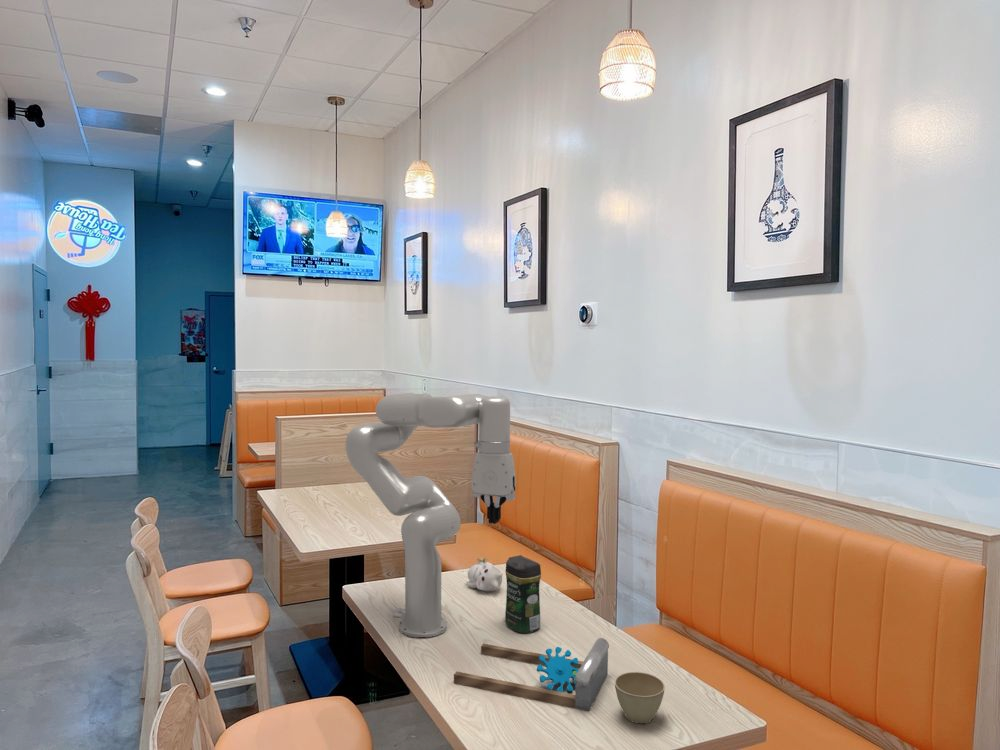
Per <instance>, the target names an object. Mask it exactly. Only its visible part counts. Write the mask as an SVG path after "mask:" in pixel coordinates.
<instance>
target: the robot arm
mask: <svg viewBox="0 0 1000 750" xmlns="http://www.w3.org/2000/svg"><path fill="white" fill-rule="evenodd" d="M375 414H376V417H377V419H378V420H379V421H378V422H377V421H376V422H369V423H363V424H359V425H357V426H355V427H353V428H352V429H351V430H350V431H349V432H348V433H347V435H346V438H345V452H346V456H347V459H348V462H349V464H350V465H351V466H352V468H353V470H354V471H356V473H358V475H359V476H361V478H362V479H363V480H364V481H365V482H366V483H367V484H368V486H369V487H370V489H371V490H372V491H373V493H374V494H375V495H376V496H377V497H378V499H379V500H380V502H381V503H382V504H383V505H384V507H385V508H386V509H387V510H388V512H390V513H391V514H392V515H393V516H397V517H399V516H401V517H402V516H405V515H408V516H406V517H405V518H404V520H403V522H402V524H401V526H400V527H401V528H400V531H401V539H402V545H403V551H404V571H405V572H404V573H405V574H404V575H405V576H404V578H405V579H404V581H405V583H404V592H405V593H404V594H405V595H404V596H405V598H404V599H405V600H404V602H405V603H404V604H405V605H404V608H402V607H397V606H395V607H394V608H393V614H392V618H393V619H394V618H395V619H400V620H401V622H399V625H398V626H399V632H400V633H401V632H402V633H401V634H403V633H404V634H405V636H407V635H408V636H407V637H410V636H411V637H410V638H416V637H426V638H431V637H432V636H433V637H436V636H439V635H442V634H443V633H444V632H445V631H446V630H447V629H448V622H447V620H446V619H445V618H443V617H442V559H441V556H440V552H439V550H438V549H437V544H438V543H440V542H443V541H446V540H449V539H450V538H452V537H454V536H455V535H457V533H458V532H459V531H460V528H461V517H460V515H459V512H458V510H457V508H456V507H455V506H454V505H453V504H452V502H451V501H450V500H449V498H448V497H447V496H446V494H445V493H444V492H443V491H442V490H441V489H440V487H439V486H438V485H437V484H436V483H435V482H434V481H433V480H432V479H431V478H429V477H427V476H424V475H414V476H409V477H406V476H404V475H402V474H401V473H400V471H399V470H398V468H397V467H396V466H395V465H394V464H393V463H392V462H391V461H389V460H388V459H387V458H385V457H383V456H381V455H380V454H379V453H384V452H389V451H395V450H397V449H399V448H401V447H402V446H403V445H404V444H405V443H406V442H407V440H408V439H409V438H410V437H411V435H412V434H413V432H415V430H416V428H418V427H423V428H424V427H425V428H447V429H448V428H459V427H466V426H471V425H477V424H478V429H479V430H478V432H479V433H478V441H474V442H473V447H474V448H477V449H478V452H475V455H474V459H473V466H472V473H471V474H472V475H471V491H472V495H473V497H474V498H478V499H481V500H482V502H483V503H484V505H485V507H486V518H487V519H488V524H494V525H495V524H497V523H499V522H500V520H501V519H502V506H503V505H504V503H506V502H509V501H513V500H515V499H516V493H515V491H516V487H517V485H516V481H517V479H516V470H515V469H516V468H515V461H514V456H513V453H511V402H510V399H509V398H507V397H503V396H489V395H488V396H487V395H484V394H479V393H477V394H476V393H471V394H460V395H452V396H434V397H433V396H432V395H430V393H414V392H407V393H404V392H403V393H394V394H392V393H391V394H387V395H386V396H383V397H381V399H380V400H379V401H378V402H377V404H376V407H375ZM494 498H495V499H494ZM404 634H403V635H404Z"/></svg>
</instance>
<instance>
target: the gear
mask: <svg viewBox="0 0 1000 750" xmlns="http://www.w3.org/2000/svg"><path fill="white" fill-rule="evenodd" d="M562 651H563V649H562V647H560V646H556V647H555V655H554V656H555V657H551V656H552V653H553V649H552V648H547V649H546V650H545V654H544V655H548V657H549V662H547V661H546V660H545V656H544V655H541V656H540V657H539V661H541V662H543V663H544V664H545V666H542V665H540V664H539V665H537V667H536V671H537V672H538V673H540V672H543V673H545V674H547V676H545V675H544V674H541V675H540V676H539V681H540V683H545V681H552V683H551V682H550V683H548V684H547V685H546V689H548V690H553V688H554V686H555V685H556V684H559V685H560V686H559V687H557V688H556V690H555V691H558V692H563V693H564V688H563V686H564V684H566V685H567V687H566V689H565V690H566V693H567V692H568V693H570V692H573V690H574V687H573V685H574V686H576V683H575V675H576V674H577V672H578V670H579V669H580V668H574V667H572V666H571V665H570V663H573V664H574V665H577V664H578V661H579V659H578V657H574V658H573V659H572V660H566V659H567V658H569V657H571V656H572V651H570V650H569V649H567V650H565V652H564V654H563V655H561V656H560V655H559V654H560V653H561V652H562ZM565 658H566V659H565ZM544 667H546V668H544ZM571 679H572V681H573V682H572V683H573V685H572V684H571Z"/></svg>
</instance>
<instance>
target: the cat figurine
mask: <svg viewBox="0 0 1000 750" xmlns="http://www.w3.org/2000/svg"><path fill="white" fill-rule="evenodd" d="M476 561H477V563H476V564H473V565H472V566H471V567H470V568H469V569H468V570H467V578H468V580H469V581H468V582H467V585H468V587H469V588H470V587H471V589H477V590H479V591H480V590H481V591H483V592H492V591H496V590H498V589H500V587H501V585H502V582H503V573H502V572H501V571H500V569H499V568H498V567H496V566H495V565H493V564H492V563H491V562H488V559H487V558H484V557H478V558H476ZM486 561H487V562H486Z"/></svg>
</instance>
